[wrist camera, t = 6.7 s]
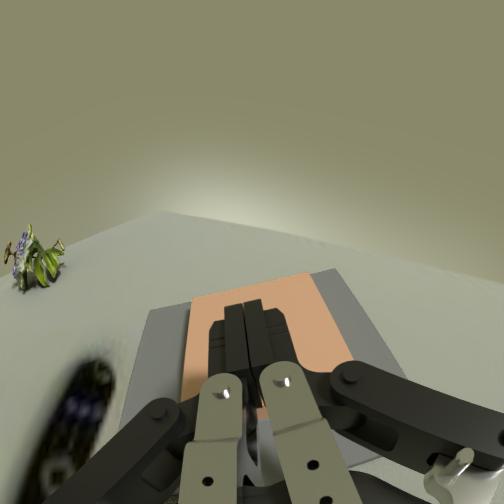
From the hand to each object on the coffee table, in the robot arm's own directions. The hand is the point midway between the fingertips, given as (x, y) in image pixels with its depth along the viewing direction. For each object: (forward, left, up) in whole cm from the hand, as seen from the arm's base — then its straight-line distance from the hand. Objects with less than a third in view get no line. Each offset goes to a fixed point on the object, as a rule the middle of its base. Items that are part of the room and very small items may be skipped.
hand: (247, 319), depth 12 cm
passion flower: (-36, +30, -8) cm, 48 cm away
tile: (0, -1, -6) cm, 6 cm away
